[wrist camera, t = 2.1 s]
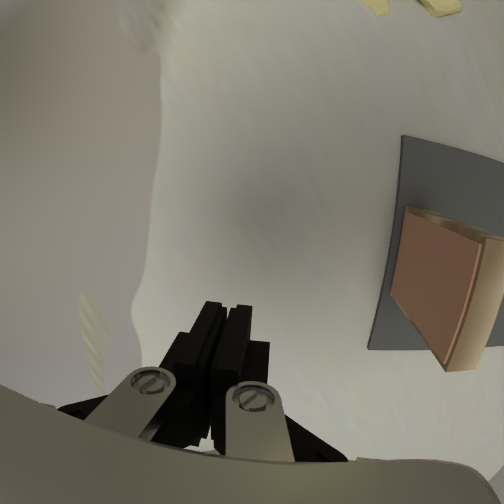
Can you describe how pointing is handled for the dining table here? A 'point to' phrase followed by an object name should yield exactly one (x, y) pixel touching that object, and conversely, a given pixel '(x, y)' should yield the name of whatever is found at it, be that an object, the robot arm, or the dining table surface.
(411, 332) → the mat
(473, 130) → the dining table surface
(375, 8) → the cloth
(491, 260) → the tile
